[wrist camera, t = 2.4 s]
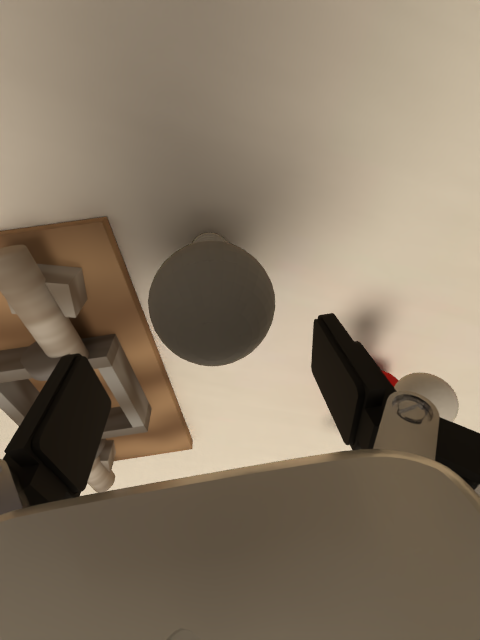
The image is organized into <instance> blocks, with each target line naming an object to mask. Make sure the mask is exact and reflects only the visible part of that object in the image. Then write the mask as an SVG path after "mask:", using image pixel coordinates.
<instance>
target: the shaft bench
mask: <svg viewBox="0 0 480 640" xmlns="http://www.w3.org/2000/svg"><path fill="white" fill-rule="evenodd" d="M77 353H79V354H81V355H82V356H85V357H86V358H87V359H88V361H89V362H90V364H91V366H92V368H93V369H94V371H95V373H96V375H97V376H98V378H99V380H100V382H101V383H102V385H103V387H104V389H105V390H106V392H107V394H108V395H109V397H110V399H111V410H110V413H109V416H108V419H107V422H106V426H105V429H104V432H103V435H102V438H101V441H100V444H99V448H98V451H97V454H96V457H95V460H94V463H93V466H92V470H91V473H90V476H89V479H88V482H87V483H88V484H89V485H90V486H91V487H92V488H93V489H94V490H95V491H96V492H98V493H101V492H105V491H107V490H108V489H109V488H110V487H111V486H112V485H113V483H114V480H115V474H114V473H113V471H112V470H111V469H112V465H113V461H117V460H124V459H130V458H137V457H143V456H150V455H156V454H163V453H169V452H176V451H182V450H189V449H192V443H193V441H192V438H191V435H190V433H189V430H188V428H187V425H186V422H185V420H184V417H183V415H182V412H181V409H180V407H179V404H178V402H177V399H176V396H175V394H174V391H173V388H172V386H171V383H170V381H169V378H168V375H167V373H166V370H165V368H164V365H163V362H162V360H161V357H160V355H159V352H158V349H157V347H156V344H155V342H154V339H153V336H152V334H151V331H150V329H149V326H148V323H147V321H146V318H145V316H144V313H143V310H142V308H141V305H140V303H139V300H138V297H137V295H136V292H135V290H134V287H133V284H132V282H131V279H130V276H129V274H128V271H127V269H126V266H125V263H124V261H123V258H122V256H121V253H120V250H119V248H118V245H117V243H116V240H115V237H114V235H113V232H112V230H111V227H110V224H109V222H108V219H107V217H101V218H93V219H86V220H79V221H71V222H64V223H57V224H49V225H42V226H35V227H28V228H20V229H13V230H6V231H0V408H1V409H2V410H3V411H4V412H5V413H6V414H7V415H8V416H9V417H10V418H11V419H12V420H13V421H14V422H15V423H16V424H17V425H18V426H20V424H21V423H22V421H23V420H24V418H25V416H26V415H27V413H28V411H29V410H30V408H31V406H32V405H33V403H34V401H35V400H36V398H37V396H38V395H39V393H40V391H41V390H42V388H43V387H44V385H45V383H46V382H47V380H48V378H49V377H50V375H51V373H52V372H53V370H54V368H55V367H56V365H57V363H58V362H59V360H60V358H61V357H62V356H64V355H70V354H77Z"/></svg>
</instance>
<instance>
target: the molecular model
mask: <svg viewBox="0 0 480 640" xmlns="http://www.w3.org/2000/svg"><path fill="white" fill-rule="evenodd" d="M381 371H382V370H381ZM382 372H383V373H384V375H385V376H386V377H387V379H388V380H389V381H390V383H391V384H392V385H393V387H394V388H395V389H396V391H411V392H415V393H418V394H420V395H422V396H424V397H426V398H427V399H429V400H430V401H431V402H432V403H433V404H434V405H435V406H436V408H437V410H438V412H439V417H441V418H443V419H446V420H448V421H451V422H453V421H454V419H455V418H456V416H457V413H458V407H459V404H458V399H457V396H456V394H455V392H454V390H453V389H452V388H451V386H450V385H449V384H448V383H447V382H445V381H444V380H442V379H441V378H439V377H437V376H435V375H432V374H428V373H412V374H409V375H406V376H404V377H403V378H401V379H400V380H397V379H396V378H395V377H394V376H393V375H391V374H389V373H387V372H385V371H382Z"/></svg>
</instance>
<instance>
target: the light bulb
mask: <svg viewBox="0 0 480 640" xmlns="http://www.w3.org/2000/svg"><path fill="white" fill-rule="evenodd" d="M148 305H149V314H150V318H151V321H152V324H153V327H154V329H155V331H156V333H157V334H158V336H159V338H160V339H161V341H162V342H163V343H164V344H165V345H166V346H167V347H168V348H169V349H170V350H171V351H172V352H173V353H175V354H176V355H177V356H179V357H180V358H182V359H185V360H187V361H189V362H192V363H195V364H199V365H204V366H220V365H226V364H230V363H233V362H235V361H237V360H239V359H242V358H244V357H245V356H247V355H248V354H250V353H251V352H252V351H253V350H254V349H255V348H256V347H257V346H258V345H259V344H260V343H261V342H262V340H263V339H264V337H265V336H266V334H267V332H268V330H269V328H270V326H271V324H272V320H273V316H274V311H275V294H274V290H273V286H272V283H271V281H270V279H269V277H268V275H267V273H266V271H265V269H264V268H263V267H262V266H261V264H260V263H259V262H258V261H257V260H256V259H255V258H254V257H253V256H251V255H250V254H249V253H248V252H246V251H245V250H243V249H241V248H239V247H237V246H235V245H233V244H230V243H227V242H226V240H225V239H224V238H223V237H221V236H220V235H218V234H215V233H204V234H201V235H199V236H198V237H197V238H195V240H194V241H193V243H192V244H190V245H187V246H185V247H183V248H182V249H180V250H178V251H177V252H175V253H174V254H173V255H171V256H170V257H169V258H168V259H167V260H166V261H165V262H164V263H163V264H162V266H161V267H160V269H159V270H158V272H157V273H156V275H155V277H154V280H153V282H152V285H151V288H150V291H149V299H148Z"/></svg>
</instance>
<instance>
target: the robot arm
mask: <svg viewBox="0 0 480 640" xmlns="http://www.w3.org/2000/svg"><path fill="white" fill-rule="evenodd" d="M311 368H312V373H313V375H314V378H315V380H316V382H317V384H318V386H319V389H320V391H321V393H322V395H323V397H324V399H325V402H326V404H327V406H328V408H329V410H330V413H331V415H332V417H333V419H334V421H335V423H336V426H337V428H338V430H339V432H340V434H341V437H342V439H343V441H344V443H345V444H346V445H350V446H351V448H352V450H351V451H341V452H334V453H328V454H321V455H315V456H308V457H301V458H295V459H289V460H283V461H278V462H272V463H266V464H260V465H254V466H248V467H242V468H236V469H230V470H225V471H219V472H213V473H208V474H202V475H196V476H190V477H185V478H179V479H173V480H168V481H162V482H156V483H151V484H145V485H140V486H134V487H128V488H123V489H117V490H112V491H106V492H101V493H95V494H90V495H84V496H80V493H81V491H83V490H84V489H85V488H86V485H87V482H88V479H89V476H90V473H91V470H92V466H93V463H94V460H95V457H96V454H97V451H98V448H99V444H100V441H101V438H102V435H103V432H104V429H105V426H106V422H107V419H108V416H109V413H110V410H111V399H110V397H109V395H108V394H107V392H106V390H105V389H104V387H103V385H102V383H101V382H100V380H99V378H98V376H97V375H96V373H95V371H94V369H93V368H92V366H91V364H90V362H89V361H88V359H87V358H86V357H85V356H82V355H81V354H79V353H77V354H70V355H64V356H62V357H61V358H60V360H59V362H58V363H57V365H56V367H55V368H54V370H53V372H52V373H51V375H50V377H49V378H48V380H47V382H46V383H45V385H44V387H43V388H42V390H41V391H40V393H39V395H38V396H37V398H36V400H35V401H34V403H33V405H32V406H31V408H30V410H29V411H28V413H27V415H26V416H25V418H24V420H23V421H22V423H21V424H20V426H19V428H18V429H17V431H16V433H15V434H14V436H13V438H12V439H11V441H10V443H9V444H8V446H7V448H6V449H5V451H4V452H5V453H6V455H5V456H4V458H3V460H2V459H0V640H480V433H477V432H475V431H473V430H470V429H468V428H465V427H463V426H460V425H458V424H455V423H453V422H451V421H448V420H446V419H443V418H441V417H439V412H438V410H437V408H436V406H435V405H434V404H433V403H432V402H431V401H430V400H429V399H427V398H426V397H424V396H422V395H420V394H418V393H415V392H411V391H396V389H395V388H394V387H393V385H392V384H391V383H390V381H389V380H388V379H387V377H386V376H385V375H384V373H383V372H382V371H381V369H380V368H379V367H378V365H377V364H376V363H375V361H374V360H373V359H372V357H371V356H370V355H369V353H368V352H367V351H366V349H365V348H364V347H363V345H362V344H361V343H360V342H358V341H356V342H354V341H353V340H352V338H351V337H350V335H349V334H348V333H347V331H346V330H345V328H344V327H343V326H342V324H341V323H340V322H339V320H338V319H337V317H336V316H335V315H334V314H333V313H331V314H324V315H319V316H318V319H315V320H314V328H313V345H312V363H311Z"/></svg>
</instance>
